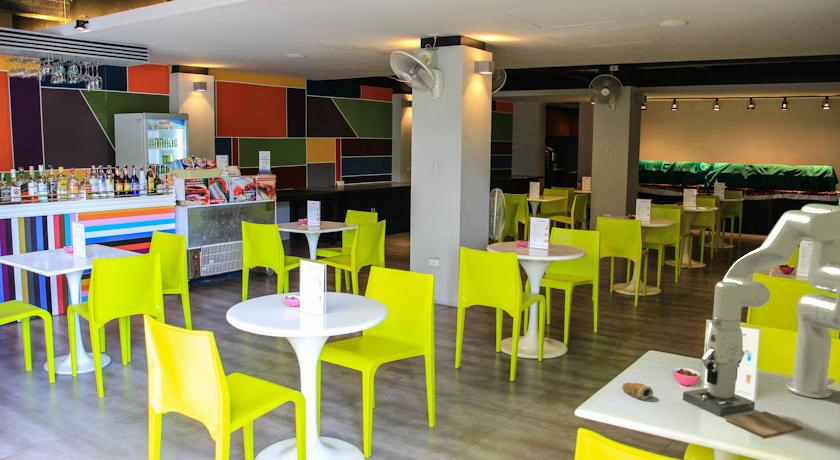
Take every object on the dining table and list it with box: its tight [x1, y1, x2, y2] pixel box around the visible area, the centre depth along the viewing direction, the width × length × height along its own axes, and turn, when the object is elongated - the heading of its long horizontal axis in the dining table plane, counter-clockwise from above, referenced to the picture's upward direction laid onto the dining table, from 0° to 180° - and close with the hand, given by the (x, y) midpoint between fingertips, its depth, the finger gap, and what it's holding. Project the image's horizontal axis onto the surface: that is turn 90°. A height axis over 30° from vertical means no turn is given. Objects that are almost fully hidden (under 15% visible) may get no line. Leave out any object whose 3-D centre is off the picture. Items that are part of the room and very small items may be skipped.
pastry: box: [621, 382, 654, 400], centre depth 222 cm, size 9×7×4 cm
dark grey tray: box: [682, 387, 756, 418], centre depth 215 cm, size 14×14×4 cm
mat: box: [725, 411, 804, 439], centre depth 201 cm, size 16×12×1 cm
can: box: [707, 359, 738, 399], centre depth 214 cm, size 8×8×12 cm
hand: (721, 381), depth 214 cm, fingers closed on can, 7 cm apart
